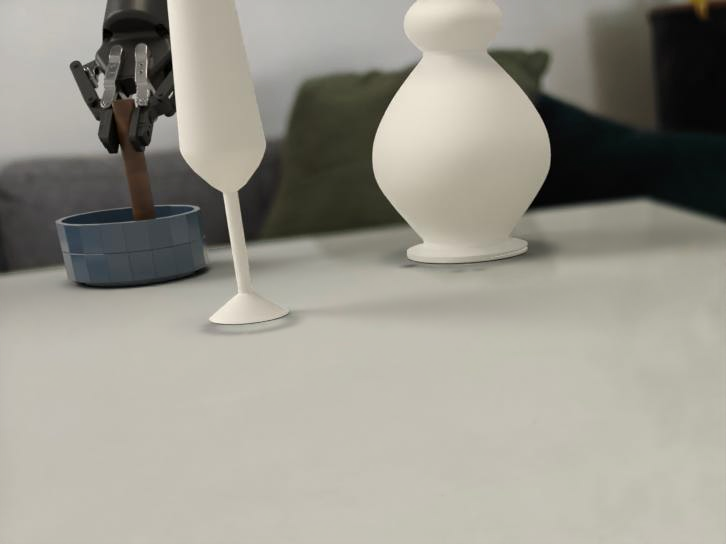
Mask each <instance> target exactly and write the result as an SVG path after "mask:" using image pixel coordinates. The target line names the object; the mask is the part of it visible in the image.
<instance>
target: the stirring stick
mask: <svg viewBox="0 0 726 544" xmlns="http://www.w3.org/2000/svg"><path fill="white" fill-rule="evenodd" d="M111 102H112V107H113V112H114V118H115V123H116V128H117V133H118V138H119V149H120V153H121V159H122V164H123V169H124V174H125V181H126V185H127V190H128V195H129V196H128V197H129V200H130V207H132V211H133V217H134V221H140V220H148V219H155V218H156V214H155V209H154V200H153V193H152V188H151V183H150V177H149V172H148V171H149V170H148V165H147V160H146V155H145V152H136V151H135V149H134V148H133V146H132V144H131V143H130V140H129V131H130V125H131V119H132V113H133V107H137V106H136V99H135V98H132V99H120V100H112V101H111Z"/></svg>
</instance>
